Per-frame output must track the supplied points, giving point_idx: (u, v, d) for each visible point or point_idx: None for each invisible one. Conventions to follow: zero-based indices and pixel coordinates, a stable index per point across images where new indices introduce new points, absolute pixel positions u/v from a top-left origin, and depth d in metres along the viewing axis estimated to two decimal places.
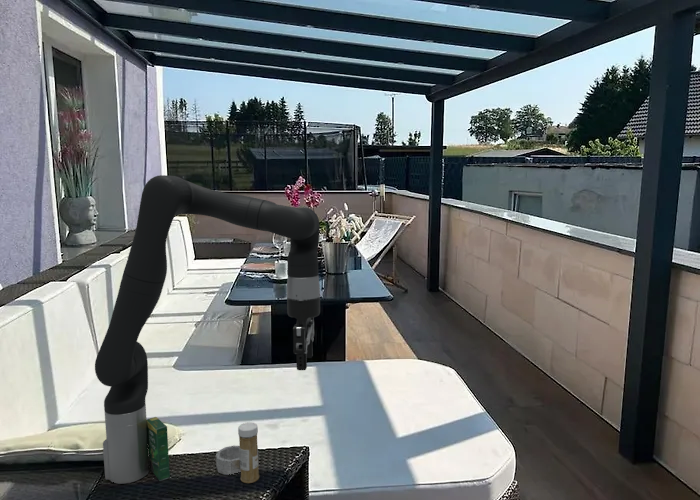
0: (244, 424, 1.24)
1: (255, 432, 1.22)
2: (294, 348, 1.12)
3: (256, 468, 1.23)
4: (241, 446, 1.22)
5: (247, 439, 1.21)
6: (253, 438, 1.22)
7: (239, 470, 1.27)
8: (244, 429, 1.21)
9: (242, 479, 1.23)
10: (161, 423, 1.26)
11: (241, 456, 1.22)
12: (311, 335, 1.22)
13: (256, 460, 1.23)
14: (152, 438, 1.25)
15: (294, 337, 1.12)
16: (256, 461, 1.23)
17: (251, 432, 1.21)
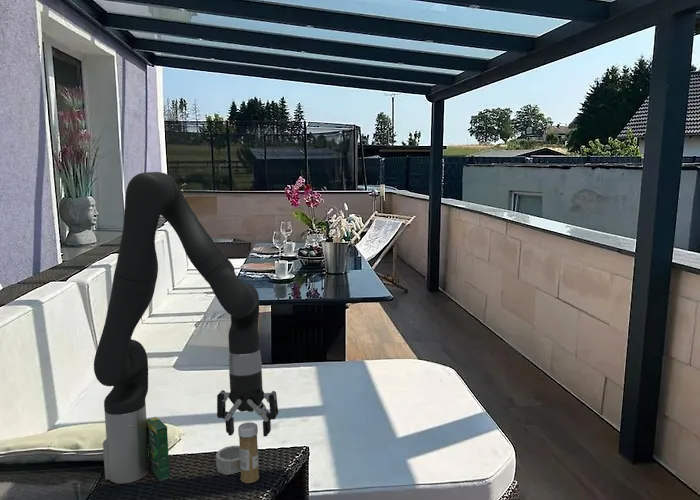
0: (244, 424, 1.24)
1: (255, 432, 1.22)
2: (275, 413, 1.21)
3: (256, 468, 1.23)
4: (241, 446, 1.22)
5: (247, 439, 1.21)
6: (253, 438, 1.22)
7: (239, 470, 1.27)
8: (244, 429, 1.21)
9: (242, 479, 1.23)
10: (161, 423, 1.26)
11: (241, 456, 1.22)
12: None
13: (256, 460, 1.23)
14: (152, 438, 1.25)
15: (274, 403, 1.20)
16: (256, 461, 1.23)
17: (251, 432, 1.21)
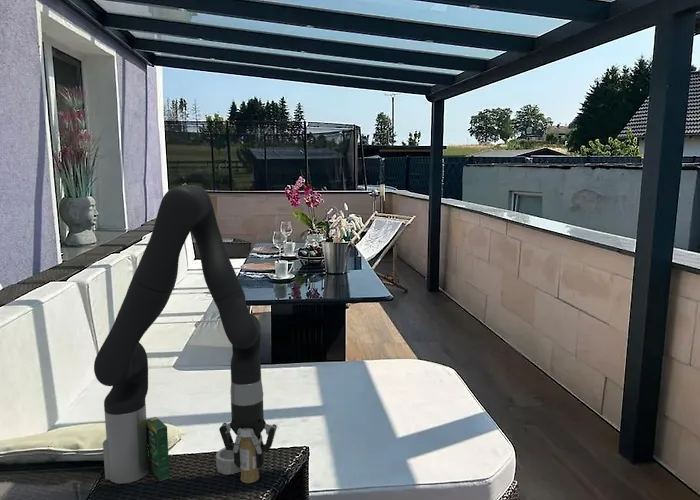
0: None
1: None
2: None
3: (256, 468, 1.23)
4: (241, 446, 1.22)
5: (247, 438, 1.21)
6: None
7: (239, 470, 1.27)
8: (244, 429, 1.21)
9: (242, 479, 1.23)
10: (161, 423, 1.26)
11: (241, 456, 1.22)
12: None
13: (256, 460, 1.23)
14: (152, 438, 1.25)
15: (272, 437, 1.22)
16: (256, 461, 1.23)
17: None
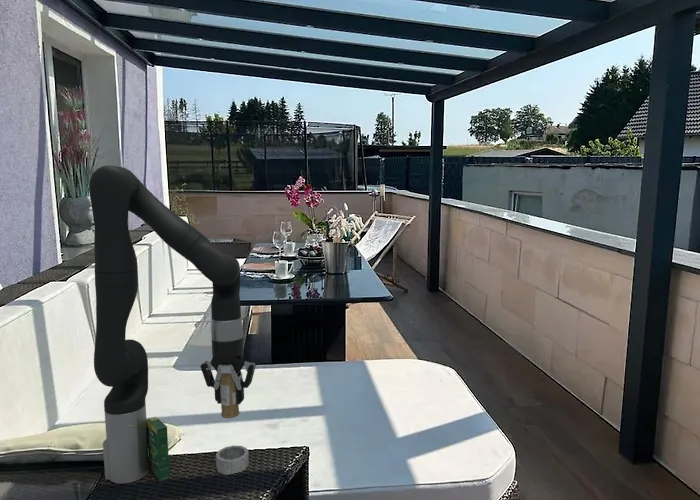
0: None
1: None
2: (249, 383, 1.26)
3: (236, 404, 1.27)
4: (221, 382, 1.26)
5: (227, 374, 1.25)
6: None
7: (239, 470, 1.27)
8: (224, 365, 1.26)
9: (222, 414, 1.27)
10: (161, 423, 1.26)
11: (221, 392, 1.26)
12: None
13: None
14: (152, 438, 1.25)
15: (251, 374, 1.26)
16: None
17: None
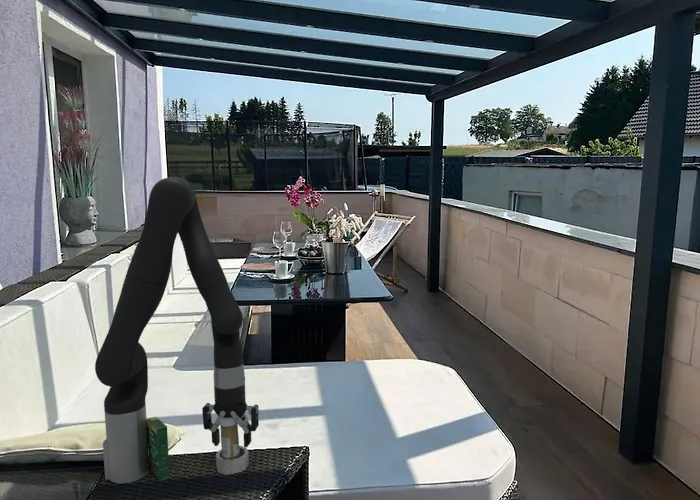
0: None
1: (235, 421, 1.28)
2: (256, 426, 1.27)
3: (237, 456, 1.29)
4: (222, 435, 1.28)
5: (227, 427, 1.27)
6: (233, 427, 1.28)
7: (239, 470, 1.27)
8: (224, 418, 1.27)
9: None
10: (161, 423, 1.26)
11: (222, 445, 1.28)
12: None
13: (237, 448, 1.29)
14: (152, 438, 1.25)
15: (256, 416, 1.27)
16: (237, 449, 1.29)
17: (231, 422, 1.27)
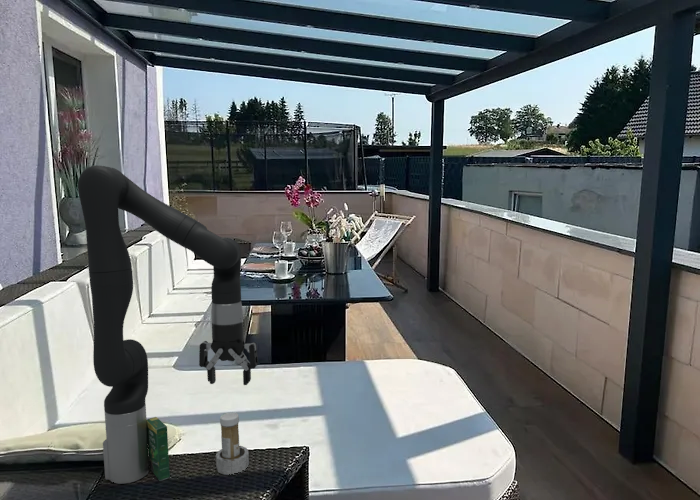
0: (226, 414, 1.30)
1: (236, 421, 1.28)
2: (255, 363, 1.26)
3: (237, 456, 1.29)
4: (223, 435, 1.28)
5: (228, 427, 1.27)
6: (234, 427, 1.28)
7: (239, 470, 1.27)
8: (225, 418, 1.27)
9: None
10: (161, 423, 1.26)
11: (223, 445, 1.28)
12: (219, 358, 1.29)
13: (237, 448, 1.29)
14: (152, 438, 1.25)
15: (254, 353, 1.25)
16: (237, 449, 1.29)
17: (232, 422, 1.27)
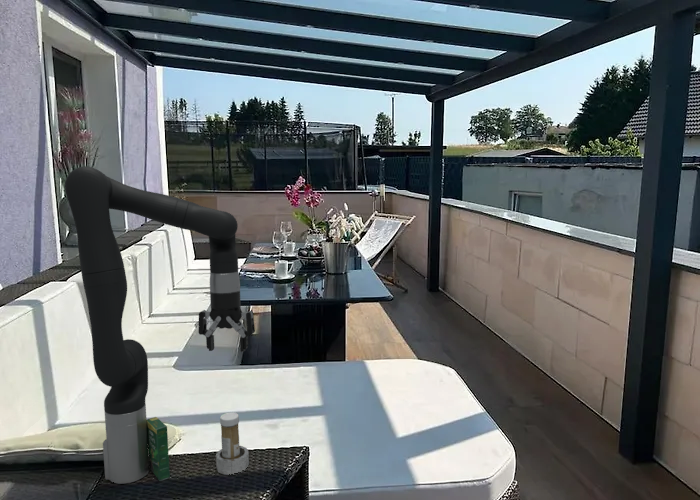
0: (226, 414, 1.30)
1: (236, 421, 1.28)
2: (252, 330, 1.32)
3: (237, 456, 1.29)
4: (223, 435, 1.28)
5: (228, 428, 1.27)
6: (234, 427, 1.28)
7: (239, 470, 1.27)
8: (225, 418, 1.27)
9: None
10: (161, 423, 1.26)
11: (223, 445, 1.28)
12: (217, 327, 1.35)
13: (237, 448, 1.29)
14: (152, 438, 1.25)
15: (251, 320, 1.31)
16: (238, 449, 1.29)
17: (232, 422, 1.27)
